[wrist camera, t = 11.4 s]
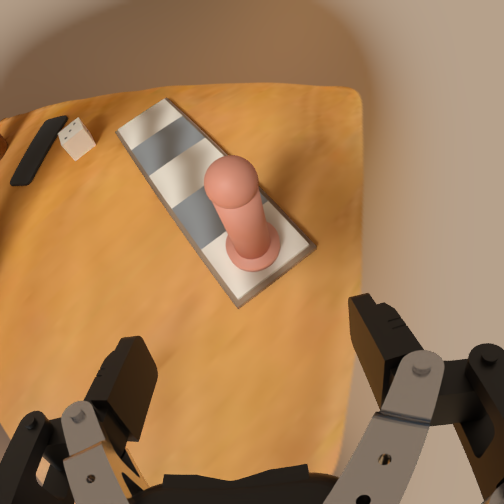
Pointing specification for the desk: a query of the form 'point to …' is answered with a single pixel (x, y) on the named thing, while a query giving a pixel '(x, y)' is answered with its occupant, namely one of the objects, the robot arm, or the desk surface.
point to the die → (76, 139)
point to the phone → (37, 151)
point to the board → (203, 197)
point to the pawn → (242, 213)
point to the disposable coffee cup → (2, 146)
